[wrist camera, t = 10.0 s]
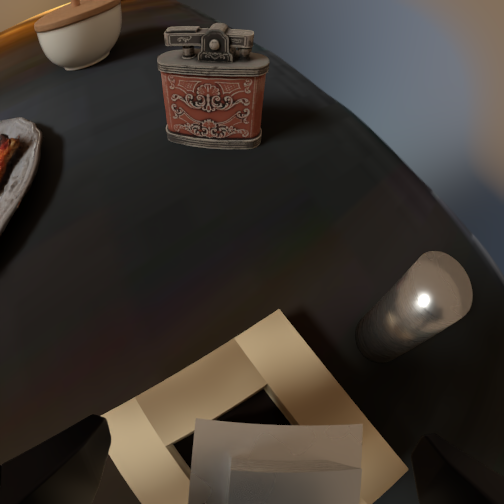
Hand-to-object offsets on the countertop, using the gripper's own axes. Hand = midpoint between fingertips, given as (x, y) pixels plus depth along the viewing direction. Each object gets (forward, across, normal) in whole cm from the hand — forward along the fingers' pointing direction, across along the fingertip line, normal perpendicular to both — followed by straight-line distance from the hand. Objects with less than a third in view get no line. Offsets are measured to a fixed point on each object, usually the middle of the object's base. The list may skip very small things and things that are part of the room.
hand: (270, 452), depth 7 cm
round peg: (+10, -7, +1) cm, 12 cm away
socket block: (+5, 0, +6) cm, 8 cm away
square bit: (+5, 0, +6) cm, 8 cm away
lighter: (+21, +5, -10) cm, 24 cm away
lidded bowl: (+35, +28, -23) cm, 50 cm away
